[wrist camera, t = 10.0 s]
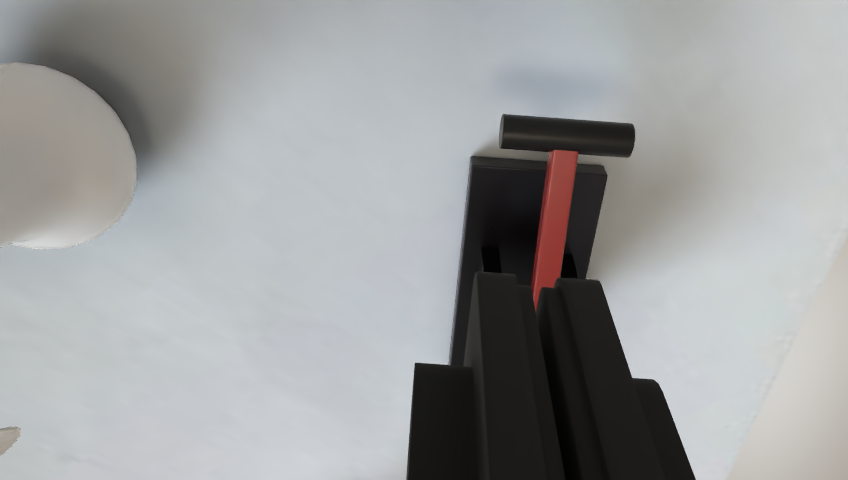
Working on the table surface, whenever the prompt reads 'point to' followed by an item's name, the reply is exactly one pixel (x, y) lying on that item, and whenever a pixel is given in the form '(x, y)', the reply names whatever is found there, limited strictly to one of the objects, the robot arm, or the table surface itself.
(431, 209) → the table surface
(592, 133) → the red lever handle
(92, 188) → the flower vase
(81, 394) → the table surface
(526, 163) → the black lever base
